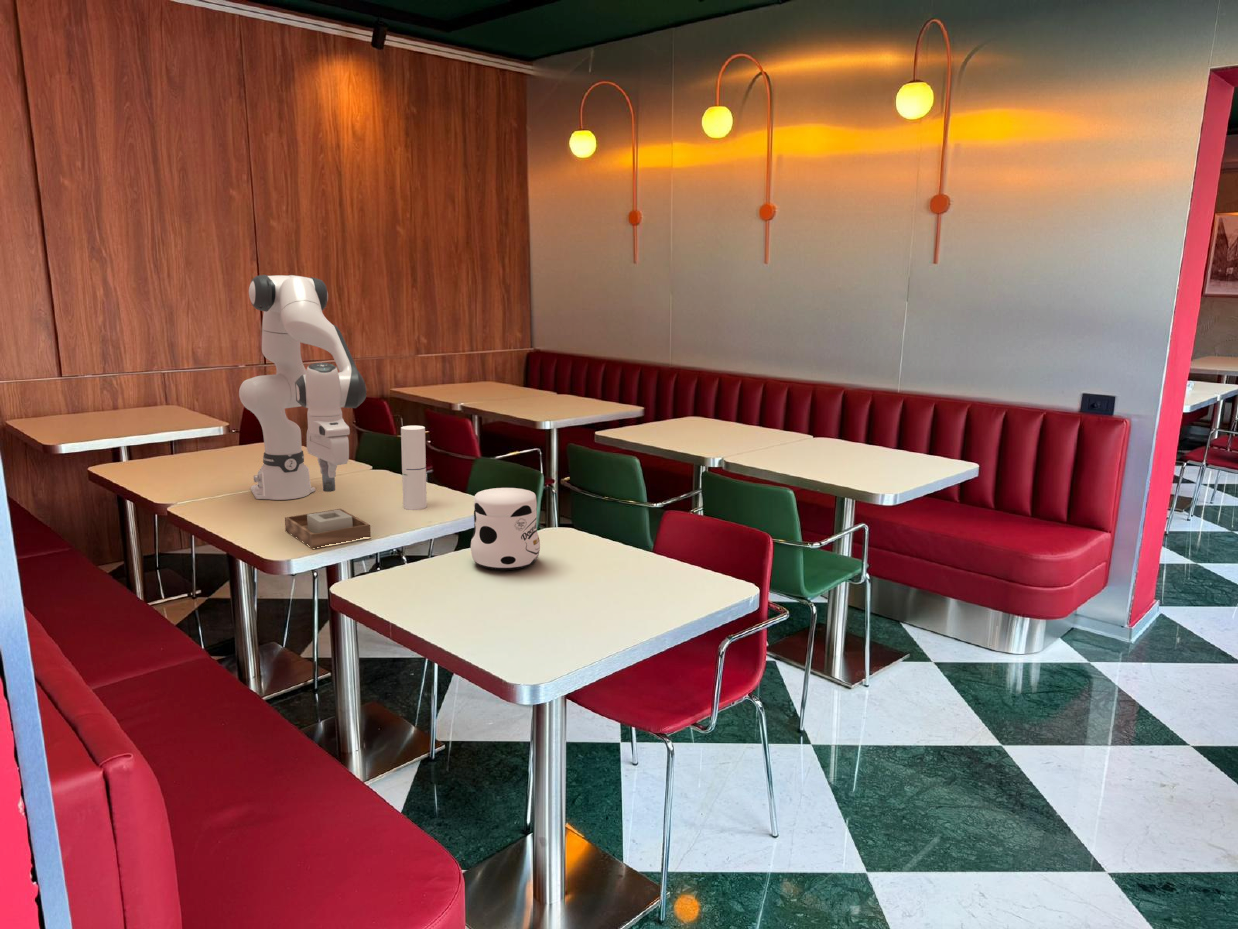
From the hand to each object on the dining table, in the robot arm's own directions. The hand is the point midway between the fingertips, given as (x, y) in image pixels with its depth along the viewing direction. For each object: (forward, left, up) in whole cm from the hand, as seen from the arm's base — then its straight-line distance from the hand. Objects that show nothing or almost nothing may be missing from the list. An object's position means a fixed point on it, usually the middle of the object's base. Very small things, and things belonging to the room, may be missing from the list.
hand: (328, 475), depth 233 cm
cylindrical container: (-15, +33, -18) cm, 40 cm away
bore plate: (0, 0, -17) cm, 17 cm away
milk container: (+46, +26, -18) cm, 56 cm away
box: (-2, 0, -17) cm, 17 cm away
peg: (0, 0, -4) cm, 4 cm away
